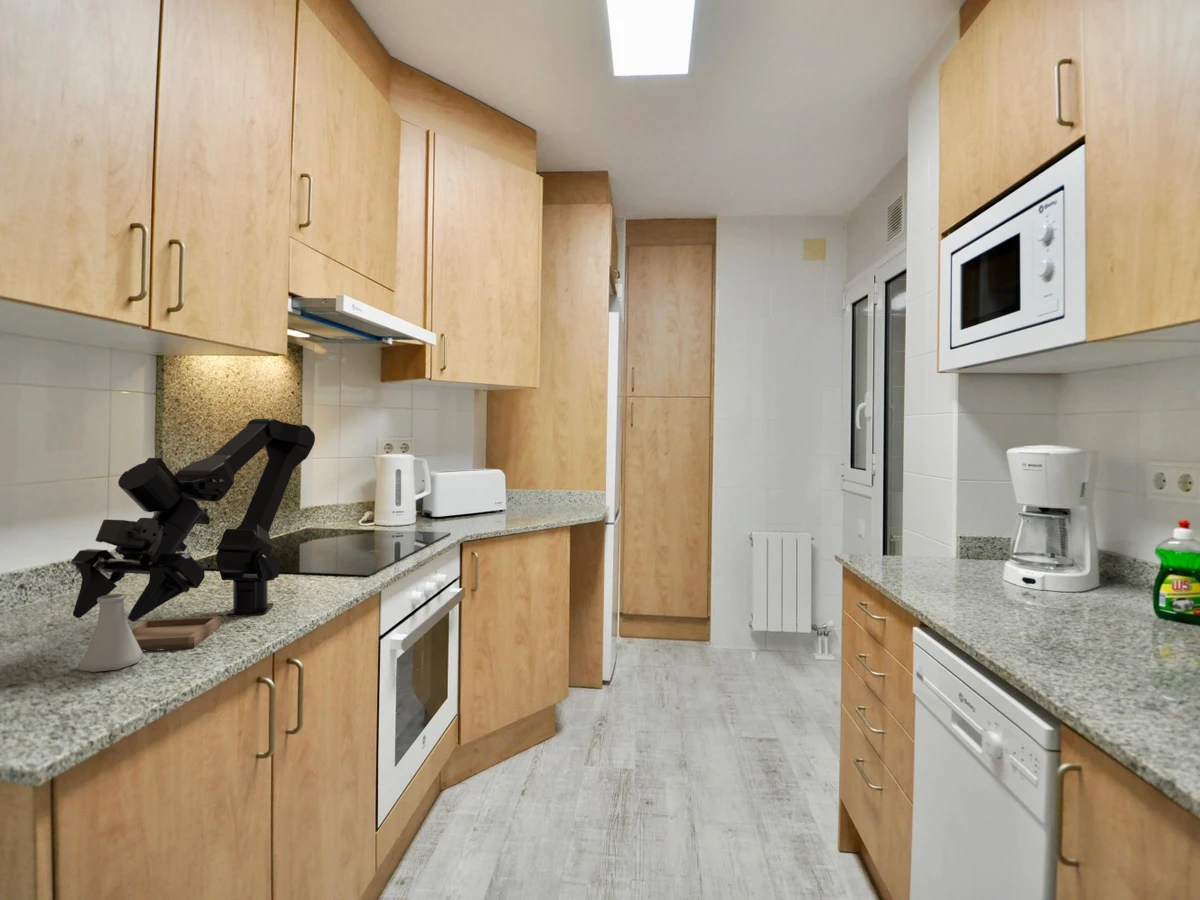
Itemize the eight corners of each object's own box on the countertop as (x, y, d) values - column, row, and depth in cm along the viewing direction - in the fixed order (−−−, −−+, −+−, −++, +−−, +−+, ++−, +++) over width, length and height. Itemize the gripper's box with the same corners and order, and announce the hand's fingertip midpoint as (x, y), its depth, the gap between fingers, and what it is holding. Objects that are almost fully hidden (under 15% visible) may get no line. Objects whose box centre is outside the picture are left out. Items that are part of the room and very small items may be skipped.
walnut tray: (144, 630, 108) (144, 620, 108) (220, 626, 110) (220, 616, 110) (109, 653, 96) (109, 641, 96) (194, 648, 99) (194, 636, 99)
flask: (154, 655, 96) (153, 590, 96) (119, 673, 88) (119, 602, 88) (105, 656, 95) (104, 590, 95) (66, 674, 88) (65, 602, 88)
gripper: (82, 496, 97) (4, 585, 86) (189, 499, 94) (122, 591, 83) (129, 539, 105) (63, 625, 94) (229, 543, 102) (172, 632, 91)
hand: (102, 618), depth 90 cm, fingers open, 9 cm apart
